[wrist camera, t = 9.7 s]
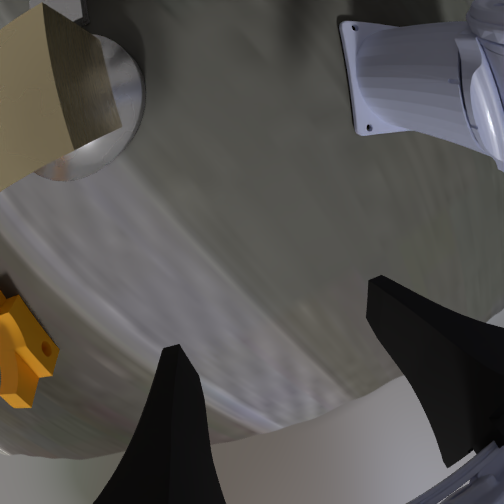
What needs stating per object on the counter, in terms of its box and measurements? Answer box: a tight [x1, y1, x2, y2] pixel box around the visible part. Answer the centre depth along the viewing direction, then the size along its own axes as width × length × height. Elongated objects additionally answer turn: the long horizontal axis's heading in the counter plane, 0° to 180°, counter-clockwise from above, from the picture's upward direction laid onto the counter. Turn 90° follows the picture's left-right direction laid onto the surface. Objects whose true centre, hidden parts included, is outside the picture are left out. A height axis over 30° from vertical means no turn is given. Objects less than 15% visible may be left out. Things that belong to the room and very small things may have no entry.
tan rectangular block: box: [0, 2, 122, 192], centre depth 8 cm, size 5×5×7 cm
